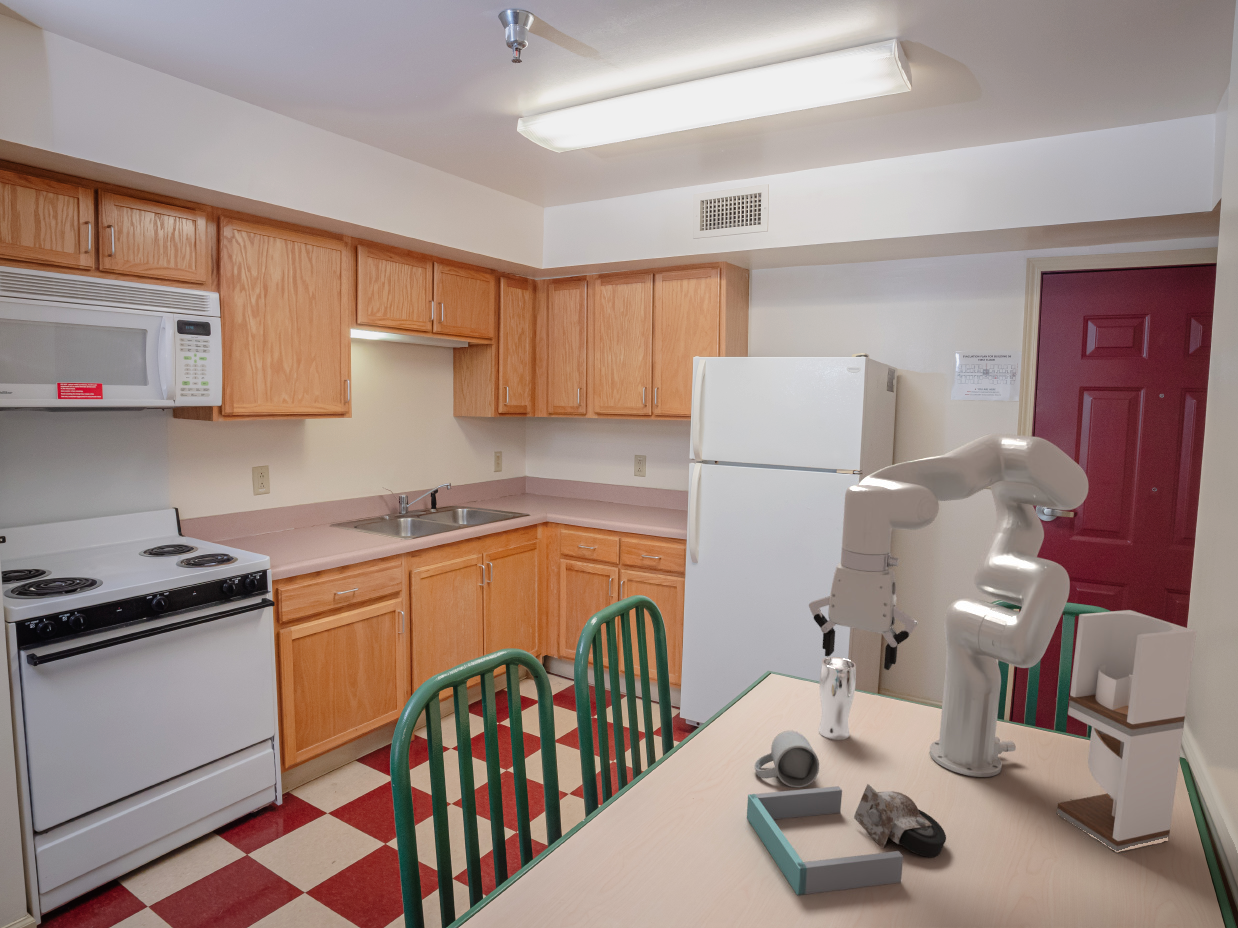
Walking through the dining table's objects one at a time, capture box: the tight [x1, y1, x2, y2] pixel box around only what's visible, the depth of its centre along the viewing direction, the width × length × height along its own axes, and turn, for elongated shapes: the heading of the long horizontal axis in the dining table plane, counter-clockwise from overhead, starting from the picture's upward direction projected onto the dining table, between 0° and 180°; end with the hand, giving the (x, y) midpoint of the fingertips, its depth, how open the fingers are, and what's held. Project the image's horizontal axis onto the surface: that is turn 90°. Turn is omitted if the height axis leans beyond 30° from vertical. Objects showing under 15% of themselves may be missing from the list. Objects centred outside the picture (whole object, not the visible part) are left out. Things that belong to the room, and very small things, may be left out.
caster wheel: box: [853, 783, 947, 858], centre depth 116 cm, size 7×11×10 cm
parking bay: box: [746, 785, 904, 896], centre depth 113 cm, size 16×18×4 cm
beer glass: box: [818, 656, 857, 741], centre depth 149 cm, size 7×7×15 cm
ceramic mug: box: [754, 730, 820, 789], centre depth 133 cm, size 11×8×8 cm
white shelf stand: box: [1056, 609, 1197, 851], centre depth 119 cm, size 11×11×35 cm
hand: (858, 660), depth 122 cm, fingers open, 9 cm apart
